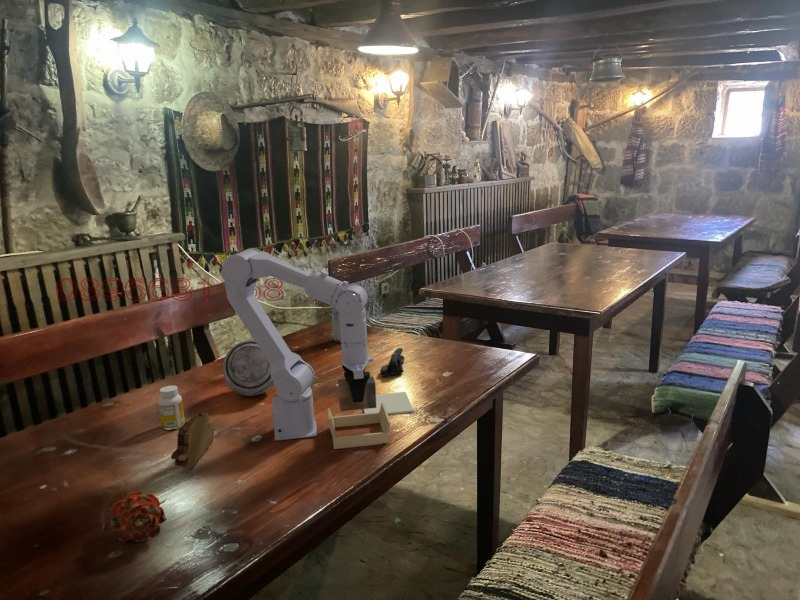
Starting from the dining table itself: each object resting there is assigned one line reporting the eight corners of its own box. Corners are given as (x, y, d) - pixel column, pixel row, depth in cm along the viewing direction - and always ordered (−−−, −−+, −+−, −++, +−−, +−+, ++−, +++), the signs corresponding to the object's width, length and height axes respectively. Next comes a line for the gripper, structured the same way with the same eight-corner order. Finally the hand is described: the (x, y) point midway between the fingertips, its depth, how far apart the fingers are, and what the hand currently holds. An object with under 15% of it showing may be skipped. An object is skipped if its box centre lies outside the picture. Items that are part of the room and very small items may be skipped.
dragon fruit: (158, 559, 101) (119, 544, 108) (187, 511, 105) (148, 500, 112) (121, 537, 95) (83, 523, 103) (153, 488, 100) (114, 477, 107)
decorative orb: (223, 407, 156) (217, 352, 152) (227, 386, 170) (221, 335, 166) (282, 400, 159) (277, 346, 155) (281, 381, 173) (276, 330, 169)
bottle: (334, 337, 212) (331, 281, 207) (353, 337, 211) (350, 281, 206) (329, 343, 205) (326, 285, 200) (349, 343, 204) (346, 285, 199)
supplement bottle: (177, 419, 150) (172, 382, 148) (189, 424, 147) (184, 387, 144) (157, 427, 146) (151, 389, 144) (169, 433, 143) (164, 394, 140)
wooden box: (331, 449, 132) (330, 428, 131) (328, 427, 143) (327, 407, 142) (391, 442, 134) (390, 422, 133) (384, 421, 145) (383, 402, 144)
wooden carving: (198, 442, 137) (193, 401, 135) (218, 442, 137) (213, 401, 135) (169, 481, 121) (163, 436, 119) (192, 481, 121) (186, 435, 119)
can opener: (402, 379, 171) (401, 361, 170) (378, 379, 173) (377, 360, 171) (412, 358, 188) (412, 341, 187) (390, 358, 190) (390, 341, 188)
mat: (365, 417, 148) (365, 415, 148) (360, 397, 159) (360, 396, 159) (413, 412, 150) (413, 410, 149) (405, 393, 161) (405, 391, 161)
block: (340, 411, 134) (339, 386, 133) (339, 404, 138) (337, 379, 137) (376, 407, 136) (375, 382, 134) (374, 400, 140) (373, 376, 138)
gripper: (376, 348, 127) (379, 408, 130) (368, 329, 141) (370, 384, 144) (342, 351, 126) (346, 412, 129) (337, 331, 140) (341, 386, 143)
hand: (357, 397), depth 136 cm, fingers closed on block, 4 cm apart
